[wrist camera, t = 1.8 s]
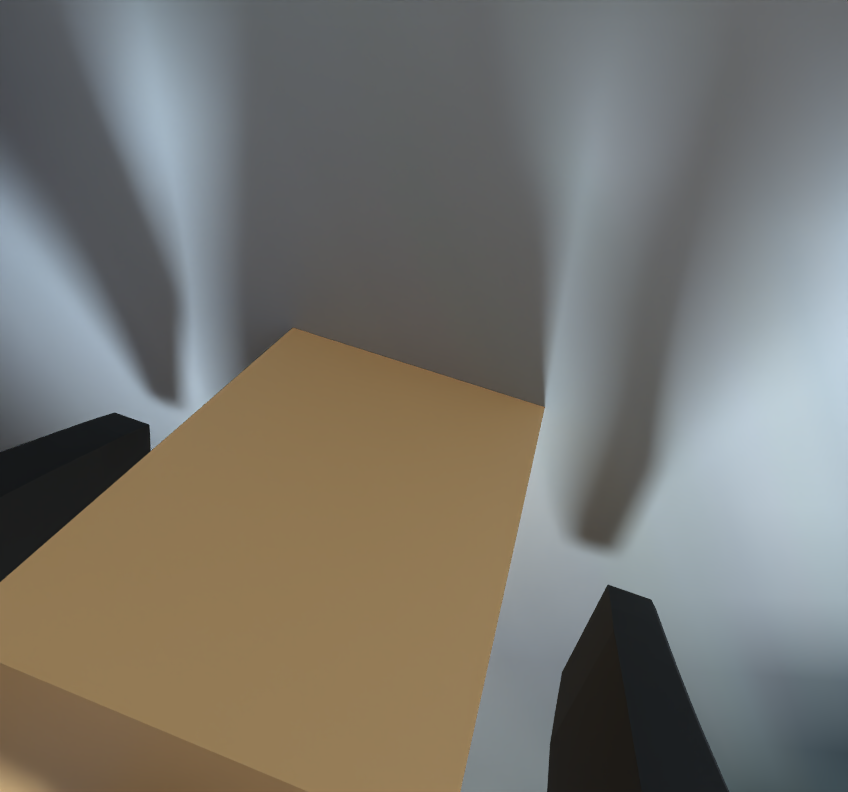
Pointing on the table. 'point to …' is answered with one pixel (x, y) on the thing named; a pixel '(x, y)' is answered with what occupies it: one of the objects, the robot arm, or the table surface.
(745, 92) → the table surface
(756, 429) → the table surface
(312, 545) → the tan block with knob
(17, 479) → the robot arm
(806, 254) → the table surface
